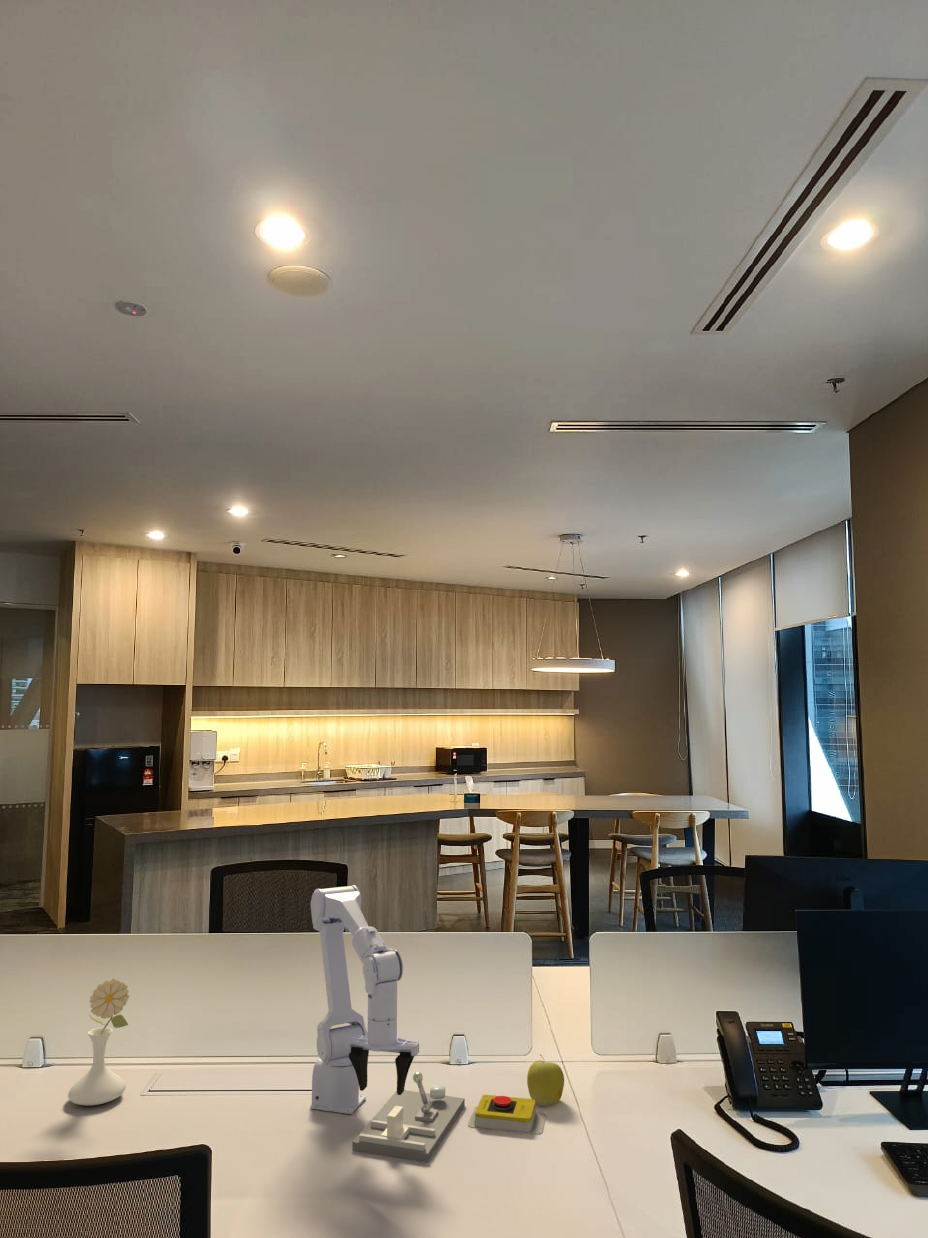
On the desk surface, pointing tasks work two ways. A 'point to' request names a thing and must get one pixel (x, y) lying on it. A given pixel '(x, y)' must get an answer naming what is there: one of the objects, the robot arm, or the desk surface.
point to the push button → (437, 1092)
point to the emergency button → (507, 1115)
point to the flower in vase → (102, 1047)
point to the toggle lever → (422, 1093)
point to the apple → (545, 1082)
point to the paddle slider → (395, 1125)
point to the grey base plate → (410, 1127)
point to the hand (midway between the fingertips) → (381, 1091)
